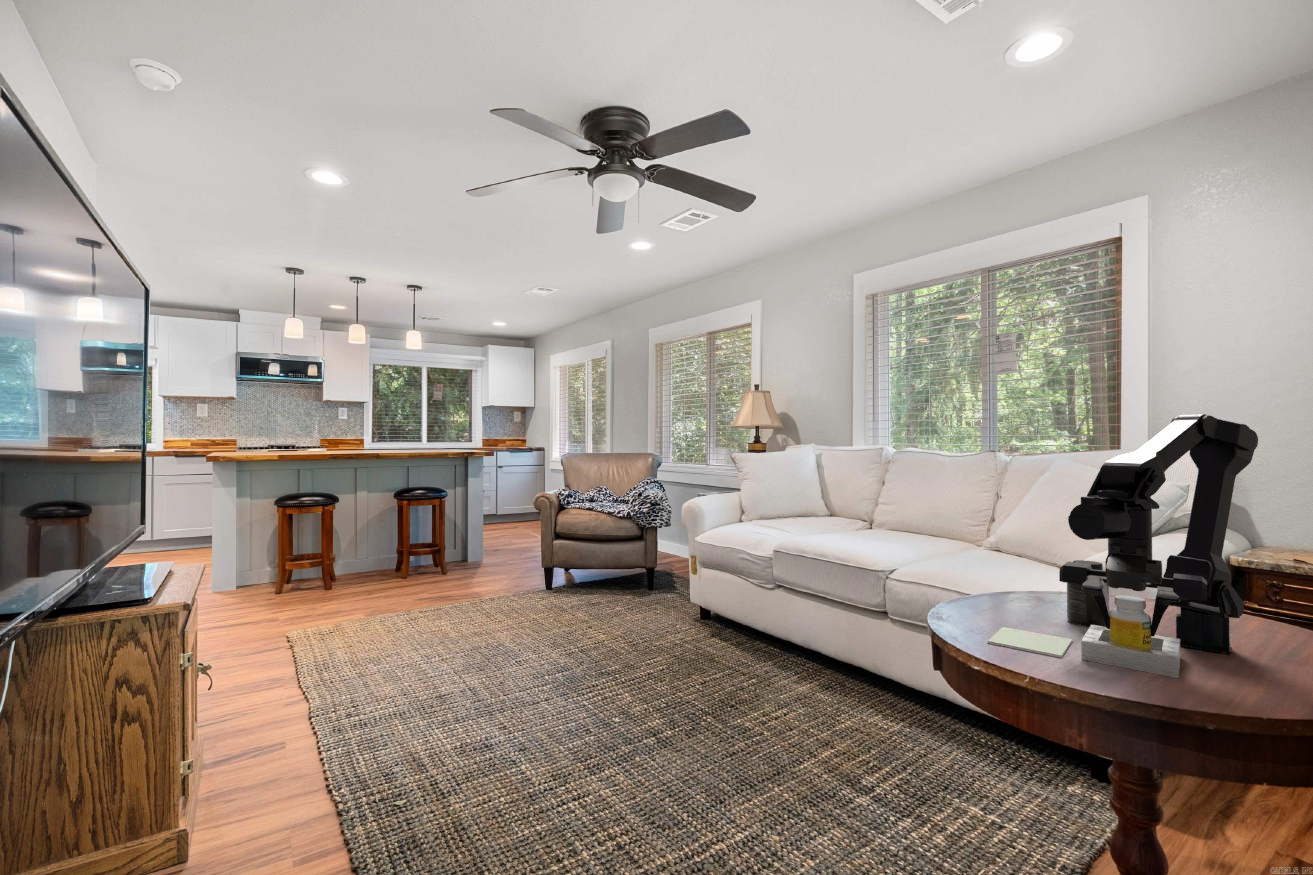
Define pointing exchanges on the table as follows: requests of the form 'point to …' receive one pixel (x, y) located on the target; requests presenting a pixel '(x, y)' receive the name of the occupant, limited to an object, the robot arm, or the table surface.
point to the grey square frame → (1132, 653)
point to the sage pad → (1031, 642)
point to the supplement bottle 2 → (1130, 622)
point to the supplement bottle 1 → (1084, 602)
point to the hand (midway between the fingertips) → (1130, 632)
